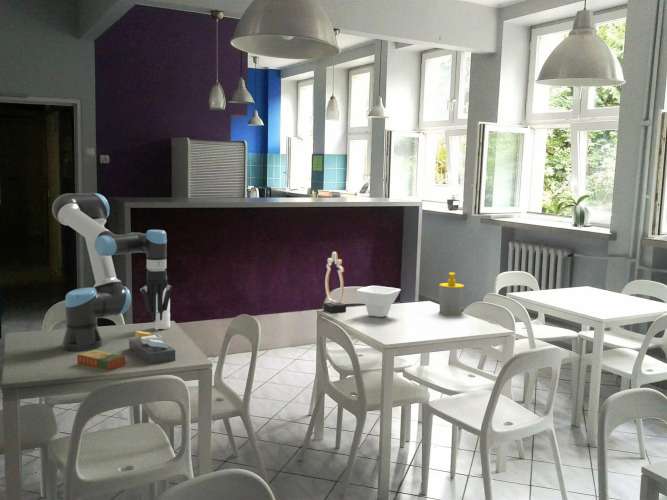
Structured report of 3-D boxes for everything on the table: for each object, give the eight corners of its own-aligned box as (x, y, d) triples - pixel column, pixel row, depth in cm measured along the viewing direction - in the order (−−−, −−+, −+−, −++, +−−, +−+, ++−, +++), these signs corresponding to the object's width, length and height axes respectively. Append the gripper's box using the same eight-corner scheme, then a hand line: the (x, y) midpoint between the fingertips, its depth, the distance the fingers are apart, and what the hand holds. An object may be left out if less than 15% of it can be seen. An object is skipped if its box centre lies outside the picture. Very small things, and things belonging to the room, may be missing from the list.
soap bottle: (437, 313, 324) (439, 274, 322) (438, 308, 337) (440, 270, 334) (462, 315, 321) (464, 275, 319) (463, 310, 334) (464, 271, 331)
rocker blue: (150, 345, 232) (151, 340, 232) (146, 343, 235) (147, 338, 235) (167, 348, 236) (168, 343, 236) (164, 345, 239) (165, 340, 239)
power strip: (149, 364, 229) (149, 351, 229) (123, 344, 256) (123, 332, 255) (175, 360, 235) (175, 347, 234) (147, 340, 262) (147, 329, 261)
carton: (95, 360, 235) (94, 349, 234) (126, 366, 228) (125, 355, 227) (77, 365, 227) (76, 354, 227) (108, 372, 220) (108, 360, 220)
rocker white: (144, 344, 238) (143, 339, 238) (140, 341, 241) (140, 336, 241) (161, 341, 242) (161, 336, 242) (158, 338, 245) (158, 334, 245)
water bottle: (172, 326, 287) (171, 273, 284) (167, 330, 280) (166, 276, 277) (157, 326, 288) (157, 273, 285) (152, 329, 281) (151, 275, 278)
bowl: (402, 315, 319) (403, 288, 318) (385, 322, 303) (386, 294, 301) (371, 310, 329) (372, 285, 327) (352, 317, 313) (353, 290, 311)
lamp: (350, 313, 322) (351, 253, 319) (335, 314, 318) (336, 253, 314) (333, 307, 336) (334, 249, 333) (319, 308, 332) (320, 250, 328)
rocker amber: (137, 337, 244) (138, 332, 244) (134, 335, 247) (135, 330, 247) (154, 339, 248) (155, 334, 248) (151, 337, 251) (152, 332, 251)
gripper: (143, 272, 233) (143, 332, 236) (176, 270, 240) (176, 328, 243) (136, 269, 239) (137, 328, 242) (169, 267, 247) (169, 324, 250)
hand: (156, 328), depth 243 cm, fingers closed
